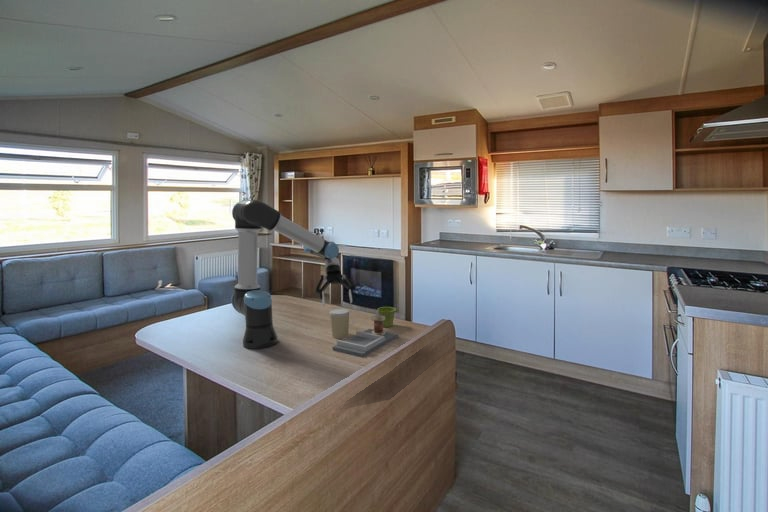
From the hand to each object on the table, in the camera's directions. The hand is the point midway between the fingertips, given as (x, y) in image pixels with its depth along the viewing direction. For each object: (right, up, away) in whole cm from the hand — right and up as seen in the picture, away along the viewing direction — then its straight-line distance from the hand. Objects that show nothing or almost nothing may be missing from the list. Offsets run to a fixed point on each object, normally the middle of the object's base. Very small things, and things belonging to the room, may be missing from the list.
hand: (337, 303), depth 203 cm
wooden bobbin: (+20, -13, -10) cm, 26 cm away
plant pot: (+24, -12, +7) cm, 28 cm away
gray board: (+15, -16, -18) cm, 29 cm away
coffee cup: (+2, -15, -7) cm, 17 cm away
